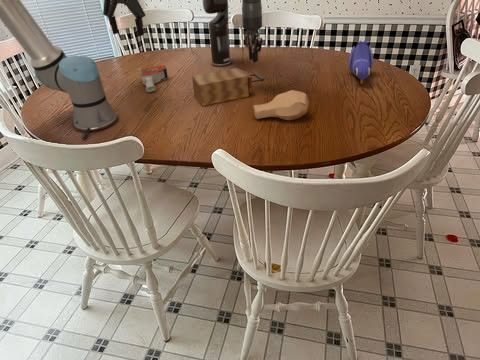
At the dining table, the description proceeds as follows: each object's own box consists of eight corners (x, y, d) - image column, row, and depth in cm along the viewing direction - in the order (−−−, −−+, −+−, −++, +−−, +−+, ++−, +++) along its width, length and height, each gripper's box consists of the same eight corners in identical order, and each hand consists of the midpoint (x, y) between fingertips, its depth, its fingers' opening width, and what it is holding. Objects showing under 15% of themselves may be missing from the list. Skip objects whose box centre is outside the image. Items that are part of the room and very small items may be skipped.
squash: (312, 121, 125) (311, 99, 119) (256, 131, 127) (252, 110, 121) (306, 103, 133) (305, 82, 126) (254, 113, 134) (250, 93, 128)
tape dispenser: (151, 97, 154) (180, 78, 166) (148, 85, 150) (178, 68, 163) (122, 88, 161) (152, 71, 174) (119, 77, 158) (150, 61, 170)
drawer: (255, 82, 155) (255, 67, 151) (265, 89, 148) (264, 74, 144) (202, 92, 149) (200, 77, 145) (209, 101, 141) (207, 85, 137)
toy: (346, 78, 167) (350, 87, 144) (349, 39, 160) (352, 43, 138) (368, 77, 164) (375, 86, 142) (372, 38, 158) (379, 42, 135)
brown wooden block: (238, 87, 154) (237, 67, 149) (248, 96, 146) (248, 75, 141) (194, 96, 149) (192, 76, 144) (202, 105, 140) (199, 85, 135)
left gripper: (147, -25, 135) (157, 34, 147) (98, -25, 144) (112, 30, 157) (134, -22, 129) (146, 38, 142) (84, -22, 139) (99, 34, 151)
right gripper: (269, 16, 130) (269, 63, 140) (253, 10, 140) (255, 54, 151) (250, 19, 128) (251, 67, 138) (236, 12, 138) (238, 57, 149)
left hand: (128, 34), depth 149 cm, fingers open, 13 cm apart
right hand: (253, 60), depth 144 cm, fingers open, 3 cm apart
